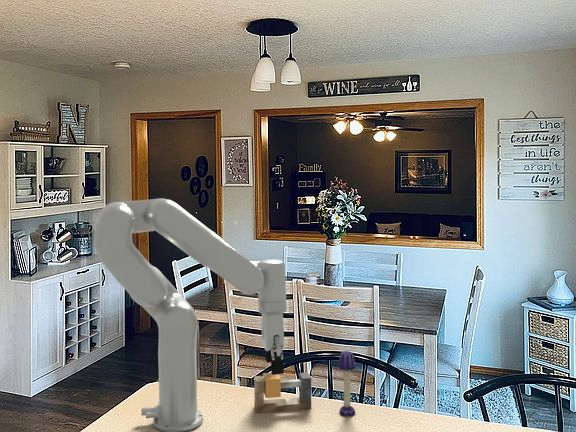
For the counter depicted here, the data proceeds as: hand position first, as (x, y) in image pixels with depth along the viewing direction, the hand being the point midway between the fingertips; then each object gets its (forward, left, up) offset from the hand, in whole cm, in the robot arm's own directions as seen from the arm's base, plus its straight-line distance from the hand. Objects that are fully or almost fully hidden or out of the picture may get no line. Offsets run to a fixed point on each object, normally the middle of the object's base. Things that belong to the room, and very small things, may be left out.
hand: (274, 367), depth 154 cm
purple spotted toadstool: (+18, -7, -11) cm, 23 cm away
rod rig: (+2, 0, -11) cm, 11 cm away
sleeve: (-1, 0, -7) cm, 7 cm away
